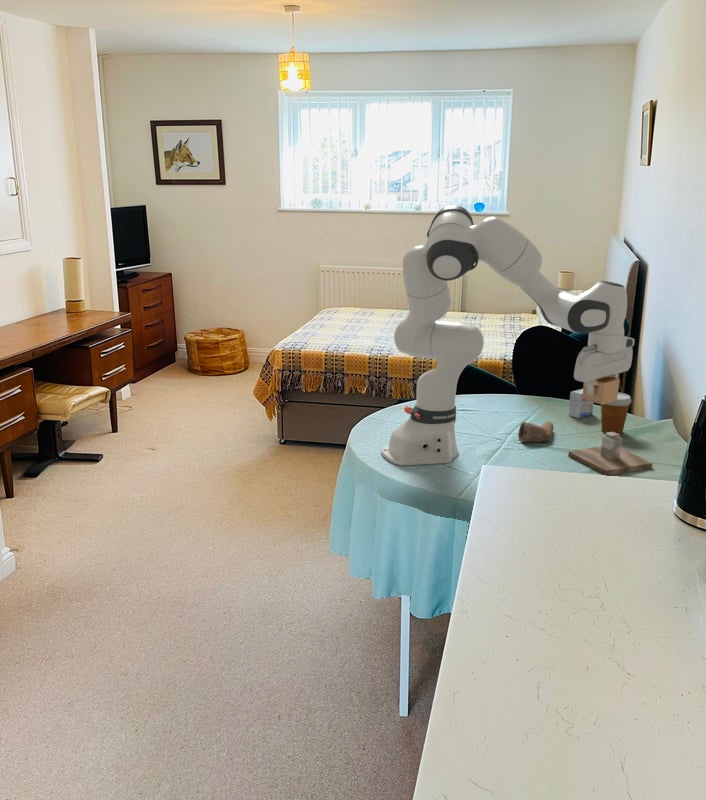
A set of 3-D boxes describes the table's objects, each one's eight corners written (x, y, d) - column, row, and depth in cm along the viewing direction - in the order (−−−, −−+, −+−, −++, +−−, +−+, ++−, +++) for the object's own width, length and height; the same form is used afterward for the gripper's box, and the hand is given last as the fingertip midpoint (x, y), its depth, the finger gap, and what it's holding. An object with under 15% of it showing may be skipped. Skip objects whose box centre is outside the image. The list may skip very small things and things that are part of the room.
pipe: (558, 417, 234) (527, 408, 237) (552, 432, 220) (519, 423, 222) (553, 435, 237) (522, 427, 239) (546, 452, 222) (514, 443, 225)
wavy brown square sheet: (605, 475, 200) (609, 446, 197) (568, 456, 214) (571, 428, 212) (652, 467, 206) (655, 439, 203) (612, 449, 220) (615, 422, 217)
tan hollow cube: (602, 404, 197) (604, 383, 195) (582, 398, 202) (584, 377, 200) (617, 400, 201) (619, 378, 199) (597, 394, 206) (599, 373, 204)
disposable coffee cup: (590, 430, 236) (593, 394, 233) (607, 425, 242) (611, 389, 238) (616, 438, 229) (620, 401, 226) (633, 432, 235) (638, 396, 231)
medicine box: (579, 419, 248) (581, 394, 246) (567, 415, 251) (570, 391, 249) (592, 414, 253) (595, 390, 250) (581, 411, 256) (583, 387, 254)
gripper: (590, 350, 188) (585, 401, 193) (638, 338, 200) (633, 387, 204) (570, 345, 193) (566, 396, 197) (618, 334, 204) (613, 382, 209)
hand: (600, 391), depth 201 cm, fingers closed on tan hollow cube, 6 cm apart
